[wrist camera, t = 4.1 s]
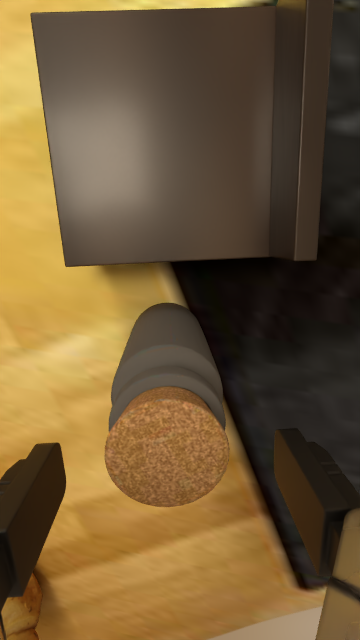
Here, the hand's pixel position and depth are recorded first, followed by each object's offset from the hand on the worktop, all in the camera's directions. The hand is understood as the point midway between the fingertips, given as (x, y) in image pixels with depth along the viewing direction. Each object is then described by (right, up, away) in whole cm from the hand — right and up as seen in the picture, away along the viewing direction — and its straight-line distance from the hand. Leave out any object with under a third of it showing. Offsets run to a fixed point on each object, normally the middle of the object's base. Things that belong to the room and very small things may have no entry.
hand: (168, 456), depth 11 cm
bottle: (-1, +4, +15) cm, 15 cm away
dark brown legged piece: (0, +16, +11) cm, 20 cm away
